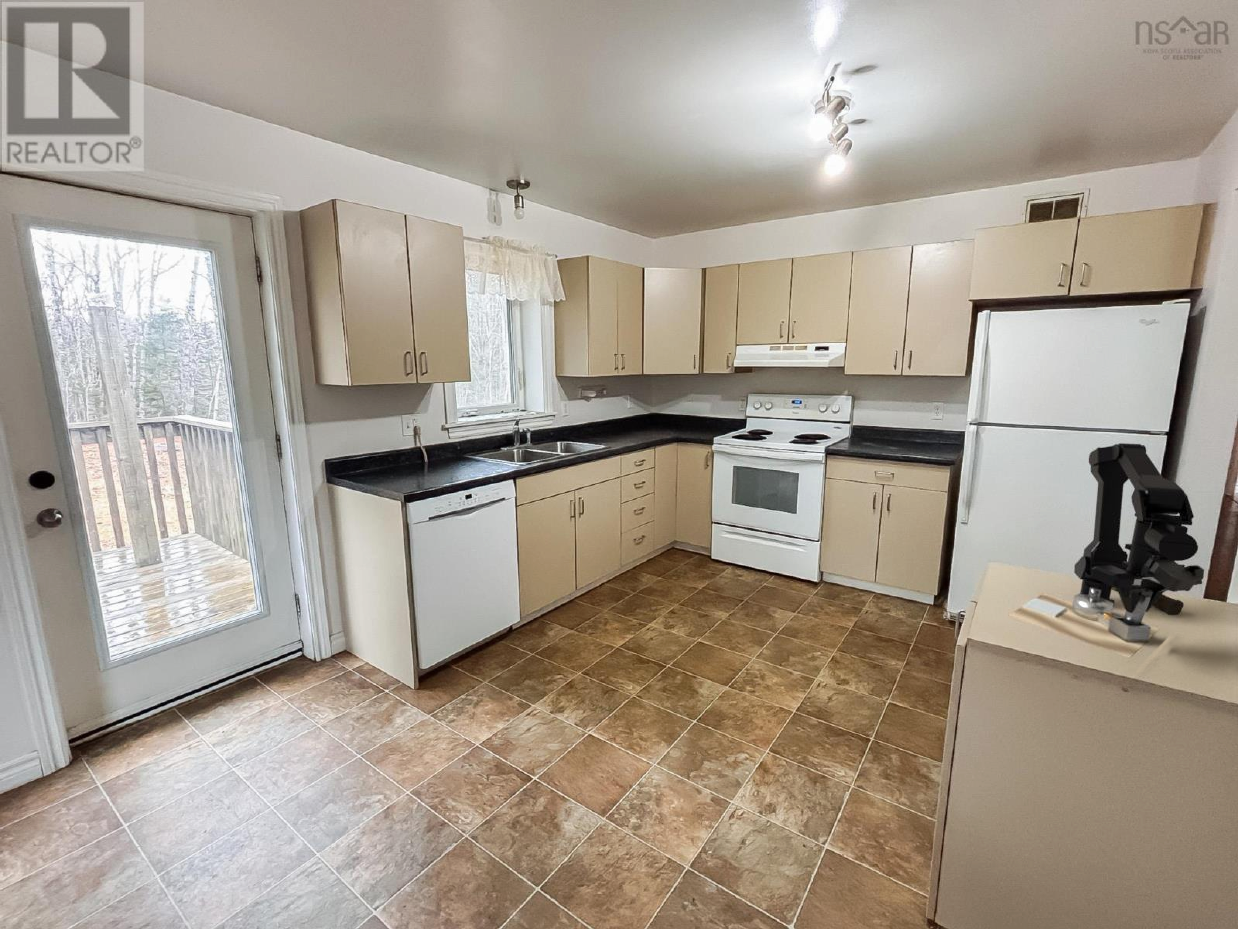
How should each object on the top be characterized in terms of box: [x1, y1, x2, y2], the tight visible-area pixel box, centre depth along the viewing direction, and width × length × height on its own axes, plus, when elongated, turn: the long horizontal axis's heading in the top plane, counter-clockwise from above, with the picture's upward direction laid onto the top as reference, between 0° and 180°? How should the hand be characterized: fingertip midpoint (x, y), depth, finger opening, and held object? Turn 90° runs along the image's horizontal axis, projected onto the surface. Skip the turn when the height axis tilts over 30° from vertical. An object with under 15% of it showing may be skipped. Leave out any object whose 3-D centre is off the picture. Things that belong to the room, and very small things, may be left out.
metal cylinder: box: [1122, 585, 1154, 626], centre depth 117 cm, size 3×3×10 cm
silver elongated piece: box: [1072, 587, 1152, 643], centre depth 123 cm, size 16×7×6 cm, turn 177°
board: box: [1007, 593, 1160, 658], centre depth 125 cm, size 20×22×2 cm
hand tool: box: [1111, 587, 1185, 616], centre depth 139 cm, size 19×4×5 cm, turn 4°
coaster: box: [1023, 597, 1066, 617], centre depth 132 cm, size 6×6×1 cm
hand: (1136, 611), depth 117 cm, fingers closed on metal cylinder, 3 cm apart
